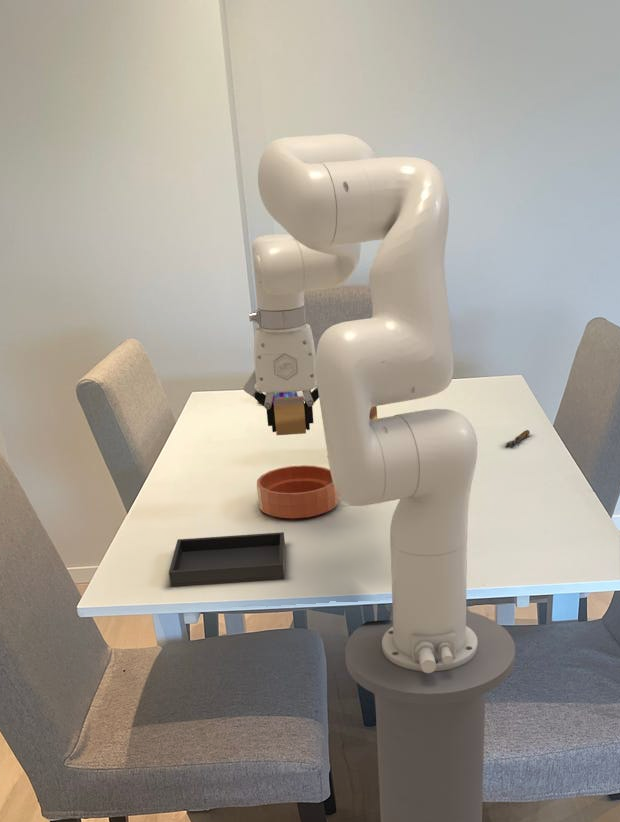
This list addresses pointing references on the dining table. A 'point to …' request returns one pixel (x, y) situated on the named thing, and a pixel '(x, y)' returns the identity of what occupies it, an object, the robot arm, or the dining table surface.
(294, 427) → the block
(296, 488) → the bowl
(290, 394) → the pudding
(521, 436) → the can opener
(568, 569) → the dining table surface
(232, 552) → the pan
